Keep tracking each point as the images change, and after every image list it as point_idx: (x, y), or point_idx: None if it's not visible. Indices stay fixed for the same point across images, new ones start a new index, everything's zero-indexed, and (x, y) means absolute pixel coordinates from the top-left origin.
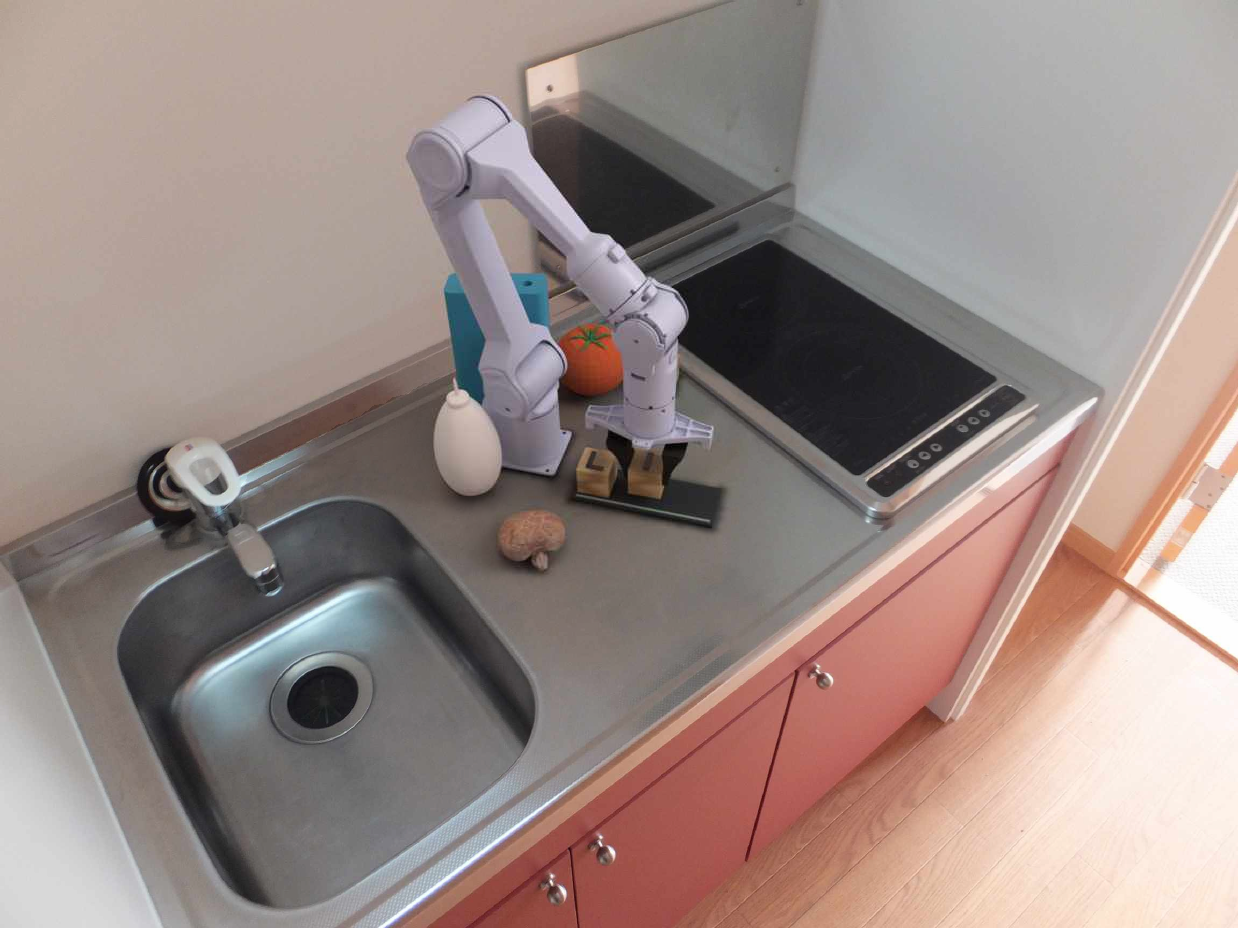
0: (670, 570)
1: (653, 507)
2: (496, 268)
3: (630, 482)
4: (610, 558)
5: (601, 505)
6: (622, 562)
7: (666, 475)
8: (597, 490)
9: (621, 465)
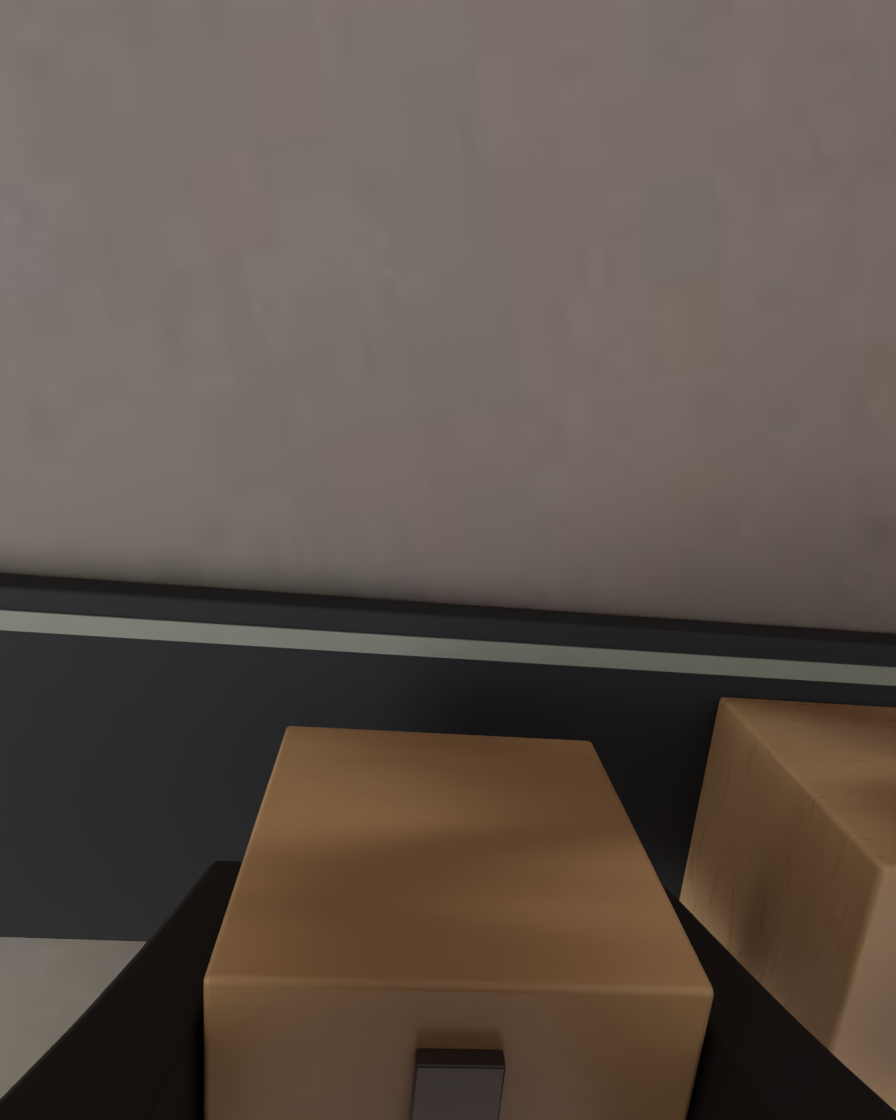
0: (79, 24)
1: (355, 667)
2: None
3: (608, 832)
4: (631, 85)
5: (758, 627)
6: (522, 53)
7: (136, 1011)
8: (844, 731)
9: (824, 1058)
